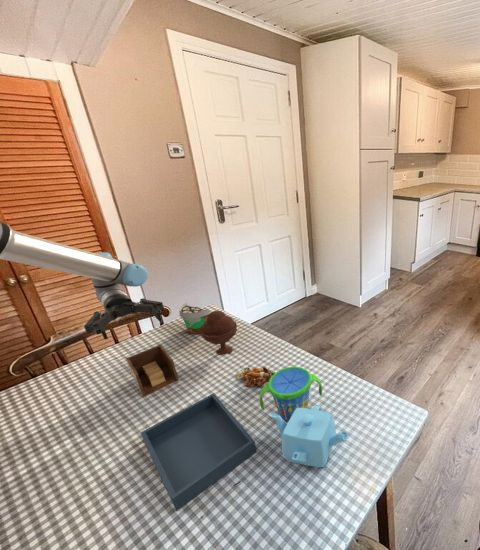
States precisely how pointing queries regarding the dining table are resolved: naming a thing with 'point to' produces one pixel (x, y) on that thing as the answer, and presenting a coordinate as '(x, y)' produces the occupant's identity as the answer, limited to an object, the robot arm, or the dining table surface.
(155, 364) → the block
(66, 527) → the dining table surface
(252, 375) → the pastry
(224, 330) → the ice cream bowl
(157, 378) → the block
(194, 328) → the food container
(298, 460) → the teapot
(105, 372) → the dining table surface
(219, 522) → the dining table surface
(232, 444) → the tray
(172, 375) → the brown open box
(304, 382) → the snack cup
